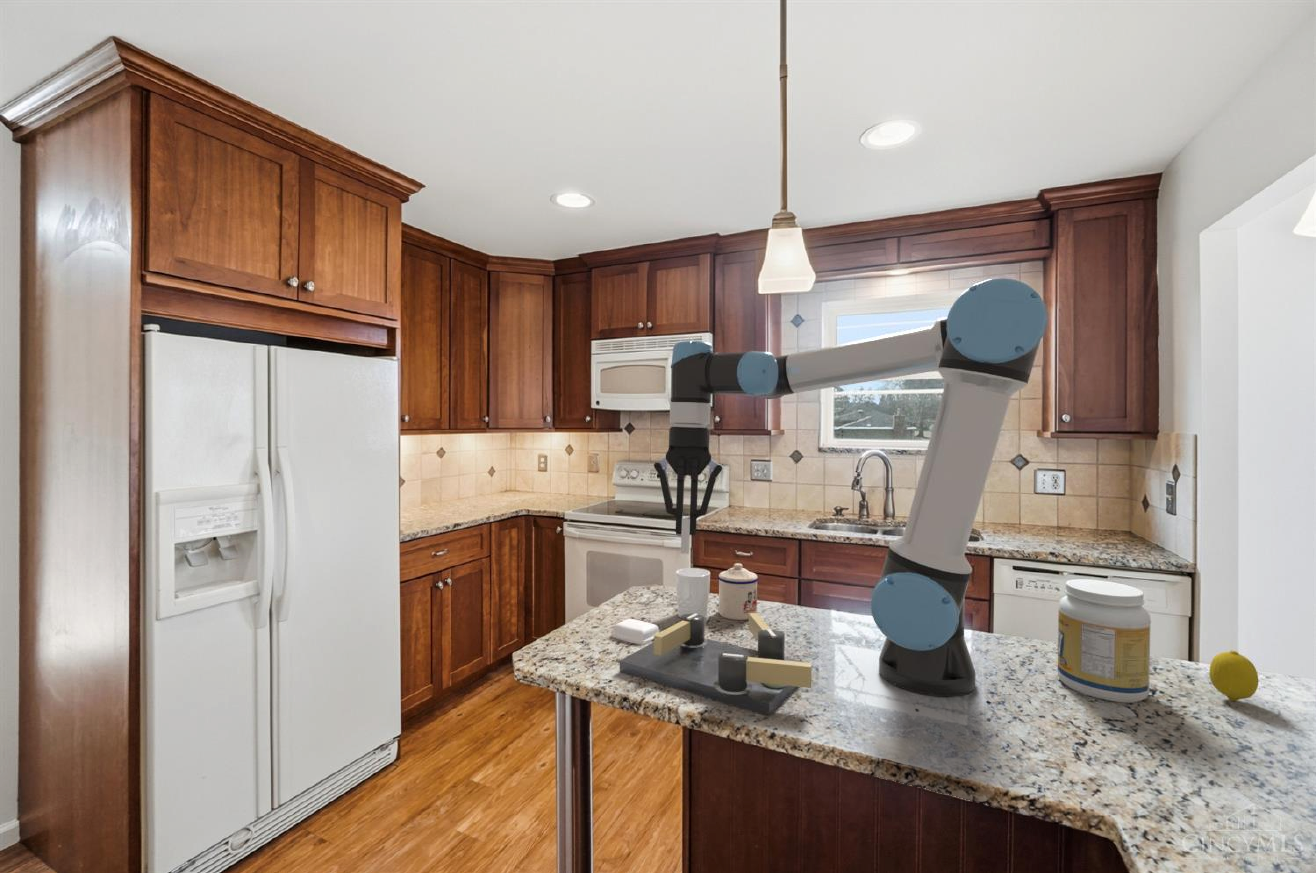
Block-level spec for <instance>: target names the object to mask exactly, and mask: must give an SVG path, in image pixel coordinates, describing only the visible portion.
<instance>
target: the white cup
mask: <svg viewBox="0 0 1316 873" xmlns="http://www.w3.org/2000/svg"><path fill="white" fill-rule="evenodd" d="M710 583H711V572H710V570H707V569H704V568H698V567H685V568H680V569H677V570H676V571H675V592H676V604H677V616H678V617H679V618H680V617H681V616H682V615H684V614H695V613H696V614H699V615H702V616H704V617H705V619H706V618H707V617H708V616H709V615H708V611H709V610H708V609H709V601H710V588H711V587H710V586H711V585H710Z"/></svg>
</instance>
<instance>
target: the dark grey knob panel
mask: <svg viewBox="0 0 1316 873" xmlns="http://www.w3.org/2000/svg"><path fill="white" fill-rule="evenodd" d="M727 651H735V652H740V653H743V654H745V655H747V657H753V658H758V649H757V650H756V649H753V648H752V649H751V648H748V647H743V646H739V645H735V644H732V643H726V642H721V641H717V640H713V639H709V638H705V637H704V642H703V643H702V644H698V645H689V644H684V643H682V644H681V645H679V646H677V647H676V648H674V649H672V650H671V651H669V652H667V653H665V654H664V655H662V656H660V655H656V654H654V641H653V642H650V644H648V645H646V646H644V647H642V648H640V649H638V650H637V651H635V652H633V653H631V654H629V655H627V656H626V657H624V658H621V659H620V660H619V673H622V674H624V675H629V676H631V677H635V678H639V679H640V680H641V679H642V680H646V681H649V682H652V683H656V684H658V685H662V686H666V687H669V688H672V689H675V690H678V691H683V692H685V693H688V694H691V695H692V694H693V695H695V696H699V697H703V698H706V699H709V700H713V701H717V702H719V703H723V704H727V705H729V706H730V705H731V706H734V707H736V708H740V709H743V710H746V711H750V712H752V713H753V712H754V713H757V714H760V715H763V716H767V717H770V716H771V715H772V714H773V713H774V712H775V711H776V710H777V709H778V708H779V707H780V706H781V705H782V704H783V703H784V701H786V699H788V698H789V697H790V696H791V694H793V693H794V692H795V691H796V689H797V688H798V687H797V686H786V687H783V688H771V687H768V686H765V685H764V684H763V683H759V682H749V681H748V686H747V688H746V689H744V690H740V691H729V690H725V689H723V688H721V687H720V686H719V685H718V656H719V654H720V653H723V652H727ZM784 660H785V661H795V662H806V663H810V662H809V661H804V660H800V659H795V658H791V657H786V656H784Z"/></svg>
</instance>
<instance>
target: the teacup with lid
mask: <svg viewBox="0 0 1316 873" xmlns="http://www.w3.org/2000/svg"><path fill="white" fill-rule="evenodd" d="M717 579H718V580H719V581H718V591H719V592H718V614H719V615H720V617H723V618H725V619H727V620H728V619H729V620H733V621H746V620H748V621H749V613H757V614H758V581H759V576H758V575H757V574H756V573H754V572H752V571H749V570H748V569H746V568H744V567H743V564H742V563H738V562H737V563H734V564H733V567H731V568H728V569H727V570H724V571H722V572H720V573H719V574H718V576H717Z"/></svg>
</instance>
